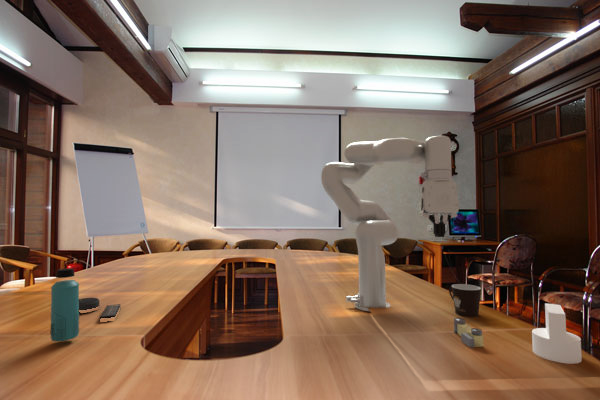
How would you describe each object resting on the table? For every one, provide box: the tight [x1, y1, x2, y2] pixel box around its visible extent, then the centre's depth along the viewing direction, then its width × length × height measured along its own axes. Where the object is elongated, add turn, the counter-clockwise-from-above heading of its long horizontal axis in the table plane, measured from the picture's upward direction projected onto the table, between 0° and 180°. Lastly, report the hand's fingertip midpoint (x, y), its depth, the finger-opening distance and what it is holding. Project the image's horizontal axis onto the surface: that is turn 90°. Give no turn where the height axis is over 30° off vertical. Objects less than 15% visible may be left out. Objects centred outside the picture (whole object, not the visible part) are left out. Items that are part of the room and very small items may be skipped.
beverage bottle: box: [49, 267, 81, 342], centre depth 91 cm, size 6×7×20 cm
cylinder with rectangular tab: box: [531, 302, 582, 365], centre depth 77 cm, size 9×9×12 cm
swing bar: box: [453, 317, 484, 348], centre depth 87 cm, size 12×3×4 cm, turn 0°
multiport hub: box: [99, 303, 121, 320], centre depth 114 cm, size 4×14×2 cm, turn 22°
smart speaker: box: [79, 297, 100, 310], centre depth 120 cm, size 9×9×4 cm
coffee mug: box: [448, 283, 482, 318], centre depth 110 cm, size 12×9×10 cm
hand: (439, 236), depth 102 cm, fingers closed
